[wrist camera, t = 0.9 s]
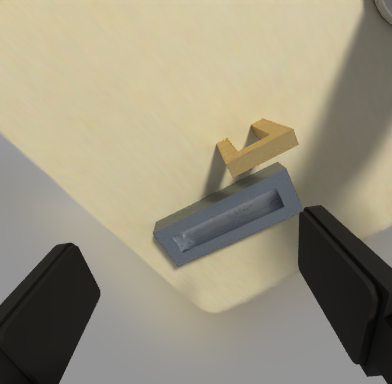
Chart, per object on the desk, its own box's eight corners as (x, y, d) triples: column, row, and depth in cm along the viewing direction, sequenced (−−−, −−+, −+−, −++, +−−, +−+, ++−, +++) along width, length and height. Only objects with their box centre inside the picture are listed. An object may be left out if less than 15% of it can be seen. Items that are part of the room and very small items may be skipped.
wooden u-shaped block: (262, 118, 27) (293, 128, 19) (267, 129, 28) (298, 144, 20) (216, 143, 29) (225, 163, 20) (221, 154, 29) (232, 177, 21)
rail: (277, 161, 30) (286, 168, 27) (294, 201, 32) (303, 211, 30) (156, 222, 34) (152, 233, 31) (179, 253, 36) (177, 266, 33)
